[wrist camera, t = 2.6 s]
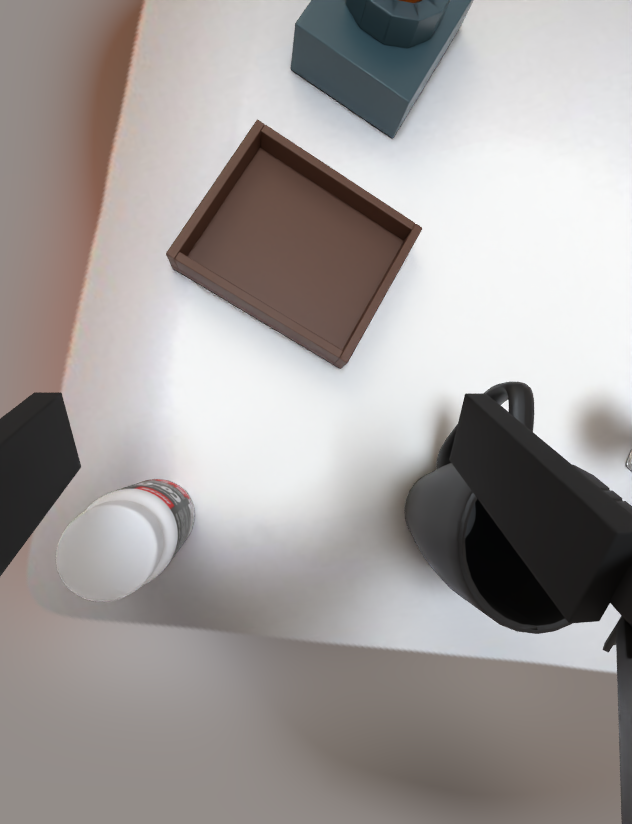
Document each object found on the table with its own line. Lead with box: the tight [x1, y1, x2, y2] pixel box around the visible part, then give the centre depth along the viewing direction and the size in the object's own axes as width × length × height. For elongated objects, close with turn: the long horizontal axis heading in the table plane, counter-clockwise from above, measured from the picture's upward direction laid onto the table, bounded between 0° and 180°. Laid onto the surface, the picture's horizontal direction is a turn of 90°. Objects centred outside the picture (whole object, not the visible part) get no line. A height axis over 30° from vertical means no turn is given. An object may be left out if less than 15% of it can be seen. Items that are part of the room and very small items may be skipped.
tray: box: [166, 120, 422, 369], centre depth 26 cm, size 13×11×2 cm
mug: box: [405, 382, 572, 634], centre depth 23 cm, size 8×12×10 cm
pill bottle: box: [56, 479, 195, 602], centre depth 20 cm, size 5×5×8 cm
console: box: [291, 0, 473, 138], centre depth 27 cm, size 12×9×5 cm
